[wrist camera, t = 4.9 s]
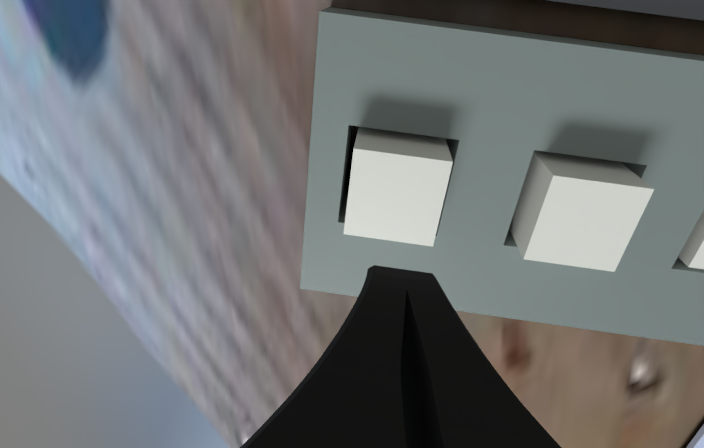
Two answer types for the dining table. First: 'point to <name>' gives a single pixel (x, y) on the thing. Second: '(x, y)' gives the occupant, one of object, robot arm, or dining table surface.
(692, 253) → the button inner
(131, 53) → the dining table surface
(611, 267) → the button middle
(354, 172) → the button outer
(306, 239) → the button board
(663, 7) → the pattern card
